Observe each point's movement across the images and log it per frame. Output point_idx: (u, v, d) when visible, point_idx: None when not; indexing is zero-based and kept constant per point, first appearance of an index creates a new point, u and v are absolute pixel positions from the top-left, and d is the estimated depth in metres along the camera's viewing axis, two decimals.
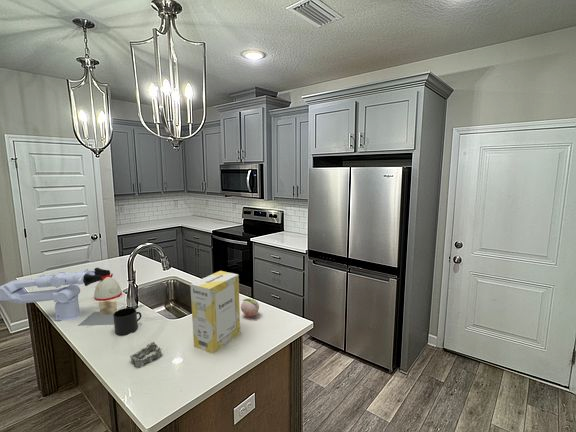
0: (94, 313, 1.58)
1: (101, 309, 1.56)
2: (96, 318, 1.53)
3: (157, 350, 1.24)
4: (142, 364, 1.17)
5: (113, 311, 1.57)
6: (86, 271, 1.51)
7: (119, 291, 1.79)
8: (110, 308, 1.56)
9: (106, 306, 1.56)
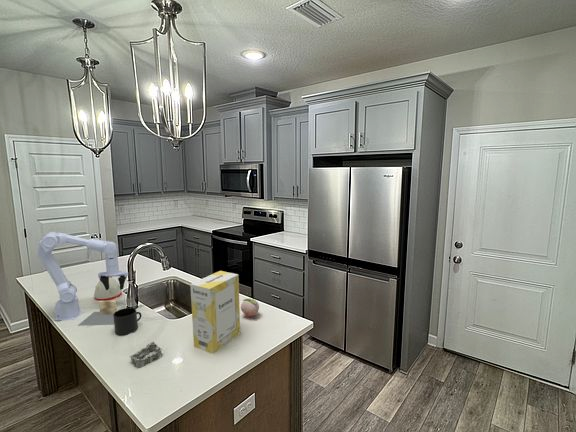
0: (94, 313, 1.58)
1: (101, 309, 1.56)
2: (96, 318, 1.53)
3: (157, 350, 1.25)
4: (142, 364, 1.17)
5: (113, 311, 1.57)
6: None
7: (119, 291, 1.79)
8: (110, 308, 1.56)
9: (106, 306, 1.56)
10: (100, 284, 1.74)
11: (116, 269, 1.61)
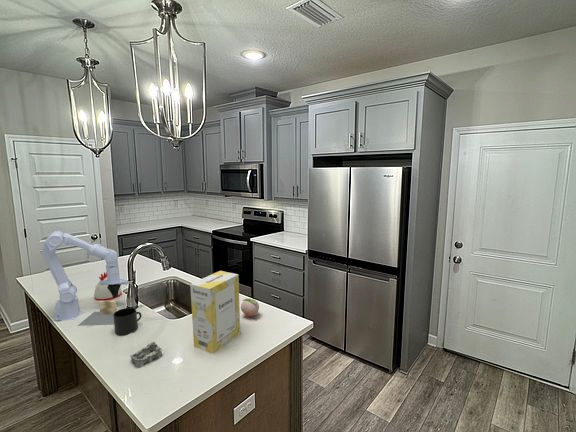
0: (94, 313, 1.58)
1: (101, 309, 1.56)
2: (96, 318, 1.53)
3: (157, 350, 1.24)
4: (142, 364, 1.17)
5: (113, 311, 1.57)
6: None
7: (119, 291, 1.79)
8: (110, 308, 1.56)
9: (106, 306, 1.56)
10: None
11: (117, 277, 1.61)
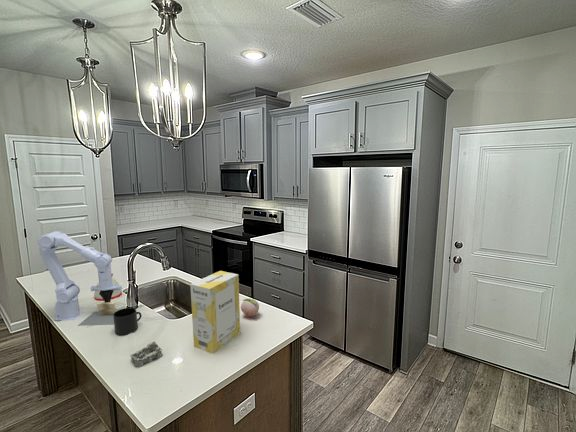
0: (94, 313, 1.58)
1: (100, 310, 1.55)
2: (96, 318, 1.53)
3: (157, 350, 1.24)
4: (142, 364, 1.17)
5: (113, 312, 1.56)
6: None
7: (119, 291, 1.79)
8: (109, 309, 1.55)
9: (105, 307, 1.55)
10: None
11: (109, 283, 1.54)
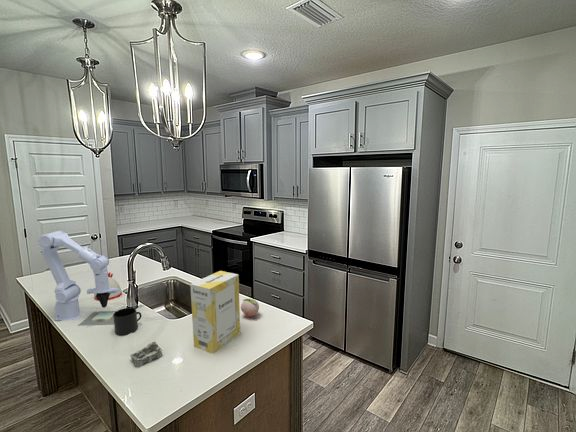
0: (94, 313, 1.58)
1: None
2: None
3: (157, 350, 1.24)
4: (141, 364, 1.17)
5: None
6: None
7: (119, 291, 1.79)
8: None
9: None
10: None
11: (106, 285, 1.50)
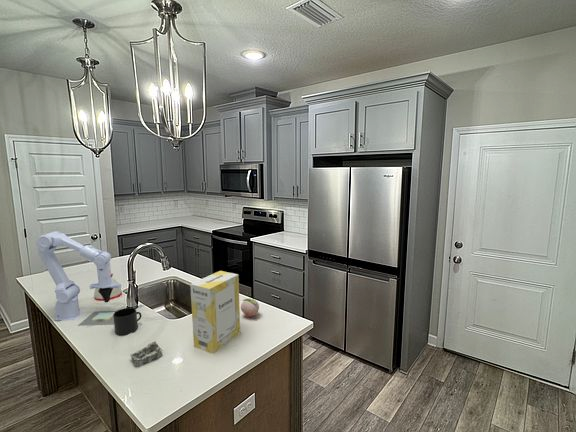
0: (94, 313, 1.58)
1: None
2: None
3: (157, 350, 1.24)
4: (141, 364, 1.17)
5: None
6: None
7: (119, 291, 1.79)
8: None
9: None
10: None
11: (108, 281, 1.53)
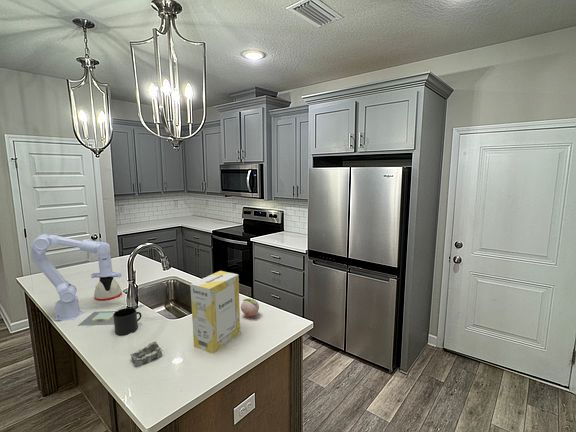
0: (94, 313, 1.58)
1: None
2: None
3: (158, 350, 1.24)
4: (141, 363, 1.17)
5: None
6: None
7: (119, 291, 1.79)
8: None
9: None
10: (100, 284, 1.74)
11: (109, 270, 1.59)
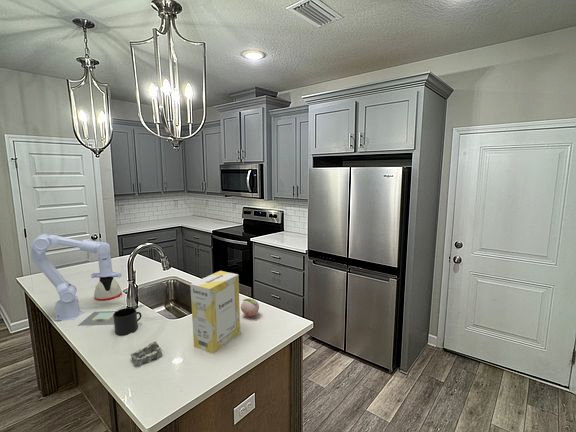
0: (94, 313, 1.58)
1: None
2: None
3: (158, 350, 1.24)
4: (140, 363, 1.17)
5: None
6: None
7: (119, 291, 1.79)
8: None
9: None
10: (100, 284, 1.74)
11: (109, 270, 1.59)
